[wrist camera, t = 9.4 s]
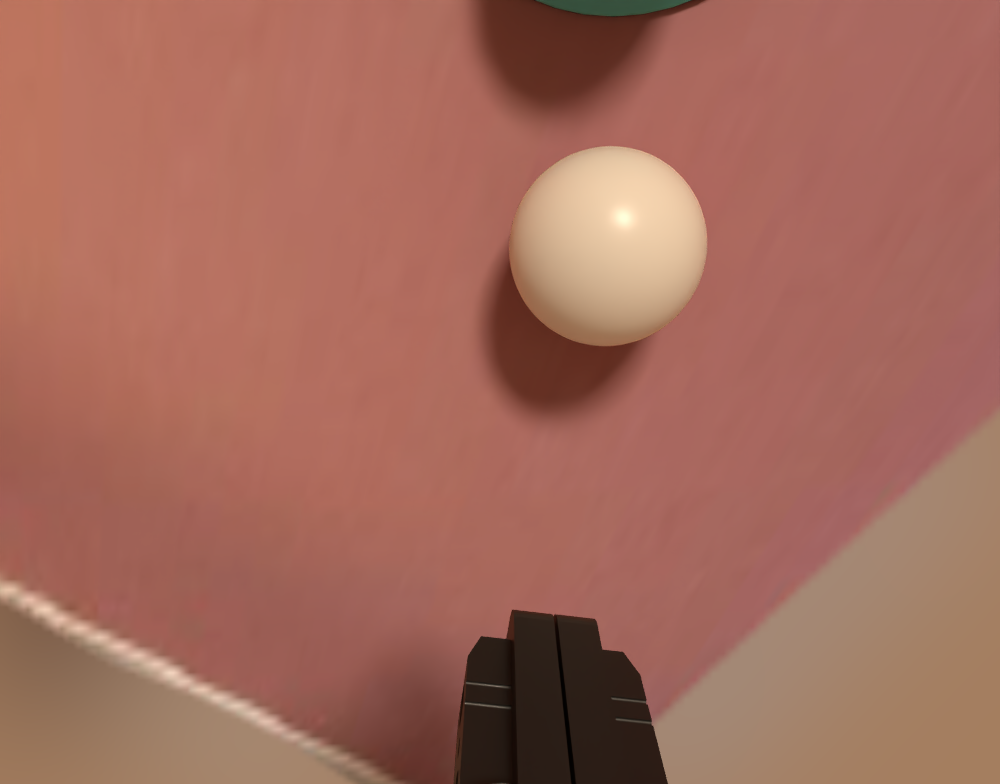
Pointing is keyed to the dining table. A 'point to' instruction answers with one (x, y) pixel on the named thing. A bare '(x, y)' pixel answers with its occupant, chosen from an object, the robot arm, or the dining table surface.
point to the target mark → (612, 6)
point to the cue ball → (608, 246)
